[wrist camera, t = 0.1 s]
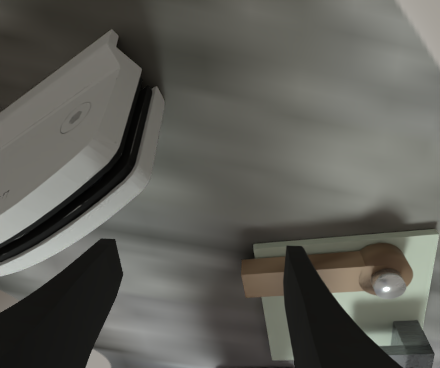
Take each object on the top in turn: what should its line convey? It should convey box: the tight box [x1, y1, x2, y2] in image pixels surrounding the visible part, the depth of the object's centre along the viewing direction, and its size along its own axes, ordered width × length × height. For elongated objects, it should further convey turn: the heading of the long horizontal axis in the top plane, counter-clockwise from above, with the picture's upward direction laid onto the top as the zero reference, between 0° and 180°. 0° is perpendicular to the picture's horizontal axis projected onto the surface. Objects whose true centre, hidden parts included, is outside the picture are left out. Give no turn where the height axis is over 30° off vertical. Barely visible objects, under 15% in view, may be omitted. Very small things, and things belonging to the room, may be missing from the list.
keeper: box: [379, 320, 434, 368], centre depth 28 cm, size 4×6×3 cm, turn 100°
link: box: [241, 243, 413, 298], centre depth 25 cm, size 12×4×2 cm, turn 100°
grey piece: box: [0, 29, 165, 276], centre depth 20 cm, size 17×5×10 cm, turn 121°
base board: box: [253, 229, 439, 361], centre depth 28 cm, size 14×13×1 cm
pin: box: [371, 268, 406, 299], centre depth 23 cm, size 2×2×1 cm
